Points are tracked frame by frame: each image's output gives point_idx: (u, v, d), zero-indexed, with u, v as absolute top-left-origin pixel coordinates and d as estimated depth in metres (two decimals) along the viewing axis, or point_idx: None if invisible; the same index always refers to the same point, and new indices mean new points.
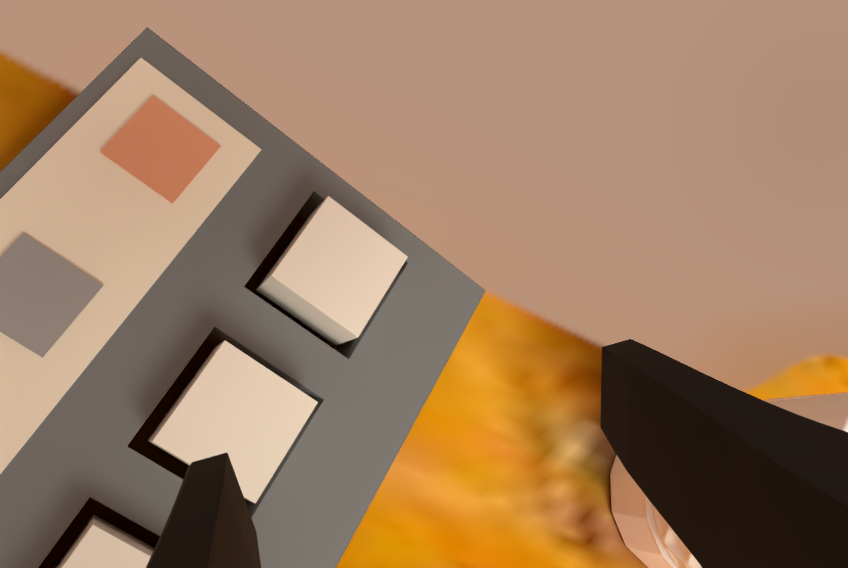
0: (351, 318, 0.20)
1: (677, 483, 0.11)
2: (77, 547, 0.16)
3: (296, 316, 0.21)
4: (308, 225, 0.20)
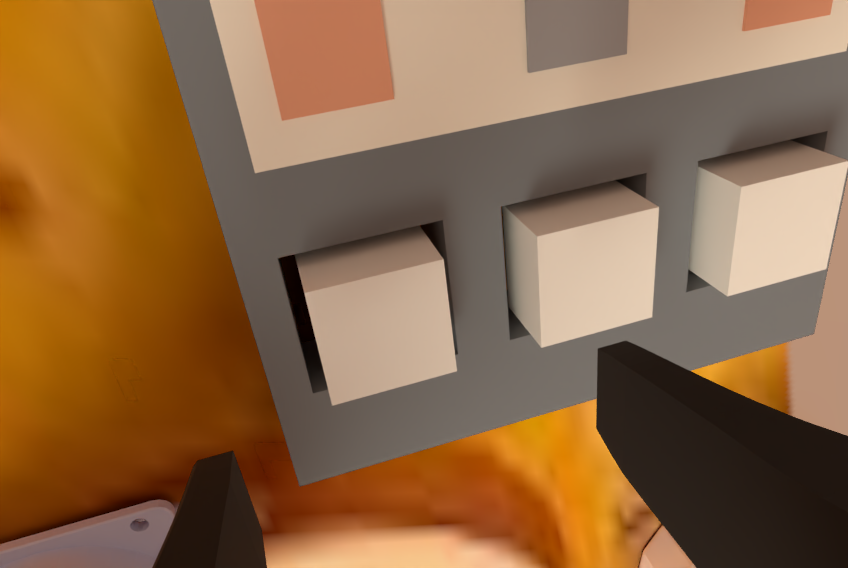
0: (741, 278, 0.18)
1: (672, 484, 0.11)
2: (419, 265, 0.15)
3: None
4: (808, 171, 0.17)
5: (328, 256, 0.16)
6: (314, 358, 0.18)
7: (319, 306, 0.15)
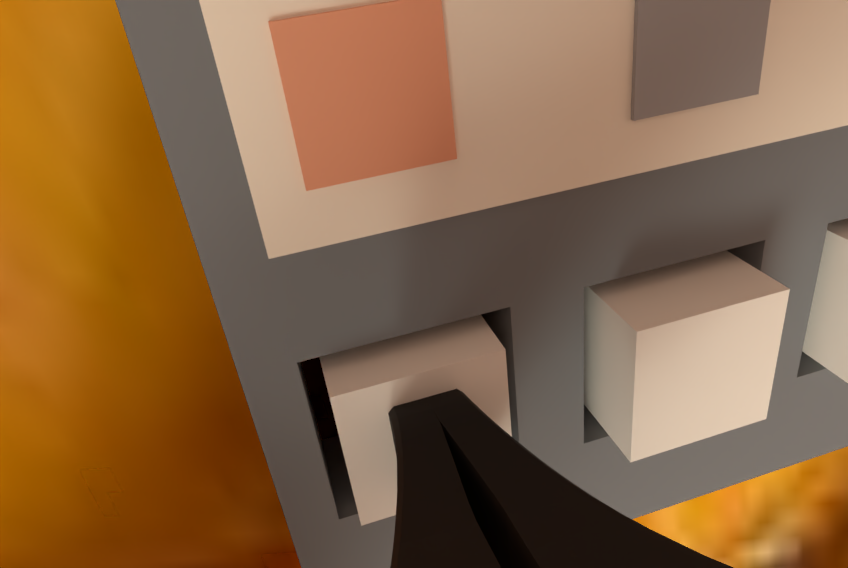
0: None
1: None
2: (474, 358, 0.12)
3: None
4: None
5: None
6: (338, 464, 0.15)
7: (349, 412, 0.11)
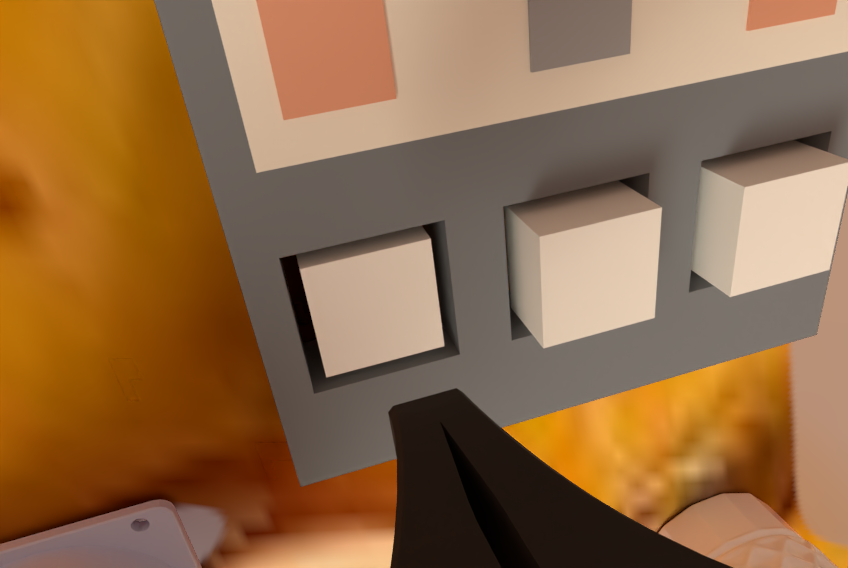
0: (743, 278, 0.18)
1: None
2: (407, 244, 0.16)
3: None
4: (812, 171, 0.17)
5: None
6: (315, 359, 0.18)
7: (314, 282, 0.16)
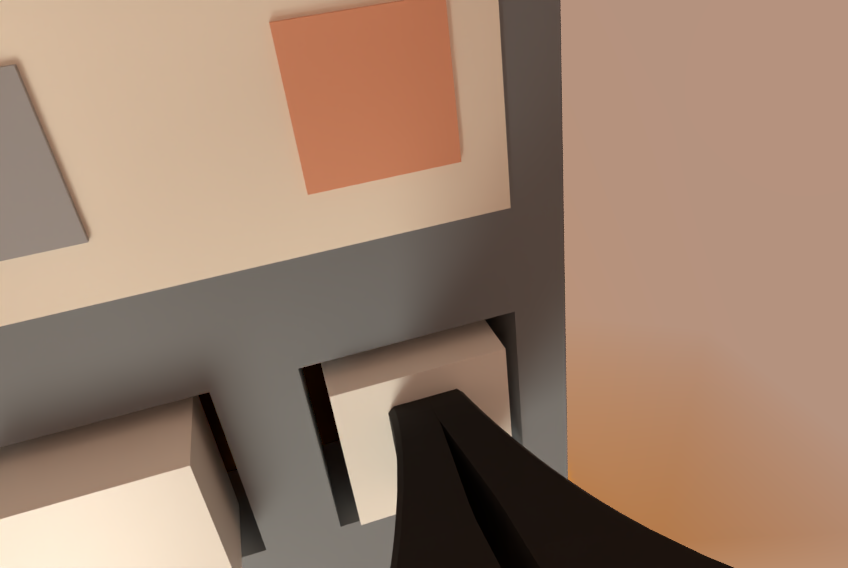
0: (375, 502, 0.13)
1: None
2: None
3: None
4: (441, 367, 0.11)
5: None
6: None
7: None
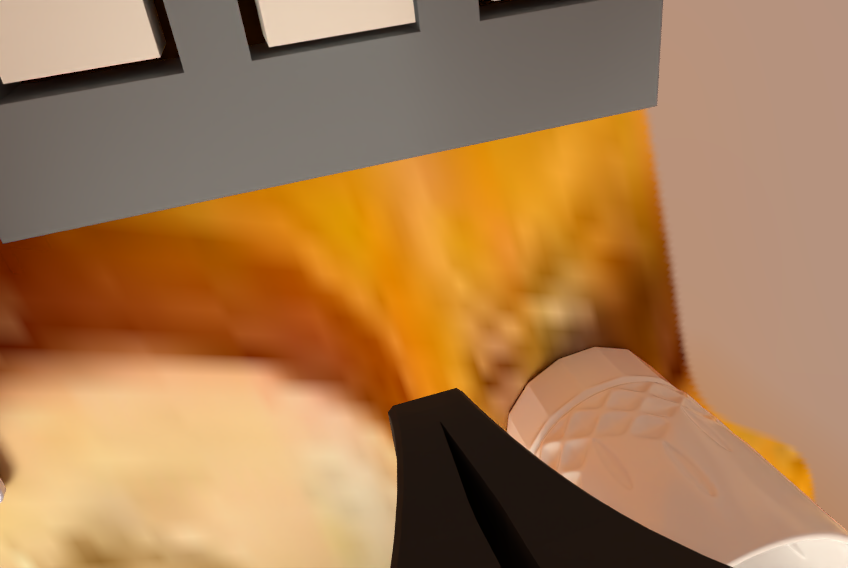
0: None
1: None
2: None
3: None
4: None
5: None
6: (21, 90, 0.15)
7: None
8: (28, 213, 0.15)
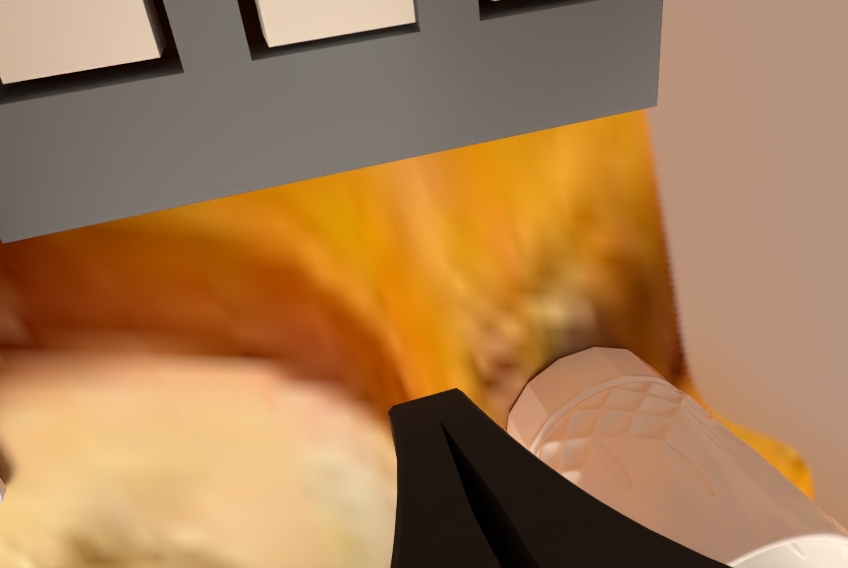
0: None
1: None
2: None
3: None
4: None
5: None
6: (21, 90, 0.15)
7: None
8: (28, 213, 0.15)
